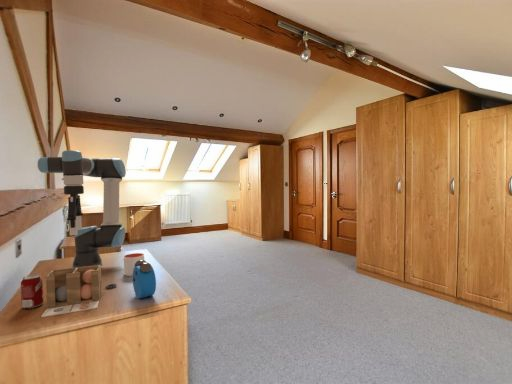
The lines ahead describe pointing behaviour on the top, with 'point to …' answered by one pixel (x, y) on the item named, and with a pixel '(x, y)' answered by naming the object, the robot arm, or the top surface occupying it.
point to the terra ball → (87, 277)
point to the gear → (110, 286)
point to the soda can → (31, 291)
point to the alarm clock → (143, 279)
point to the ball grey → (61, 294)
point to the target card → (70, 308)
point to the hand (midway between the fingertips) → (76, 232)
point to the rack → (72, 285)
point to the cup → (131, 262)
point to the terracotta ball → (86, 291)
